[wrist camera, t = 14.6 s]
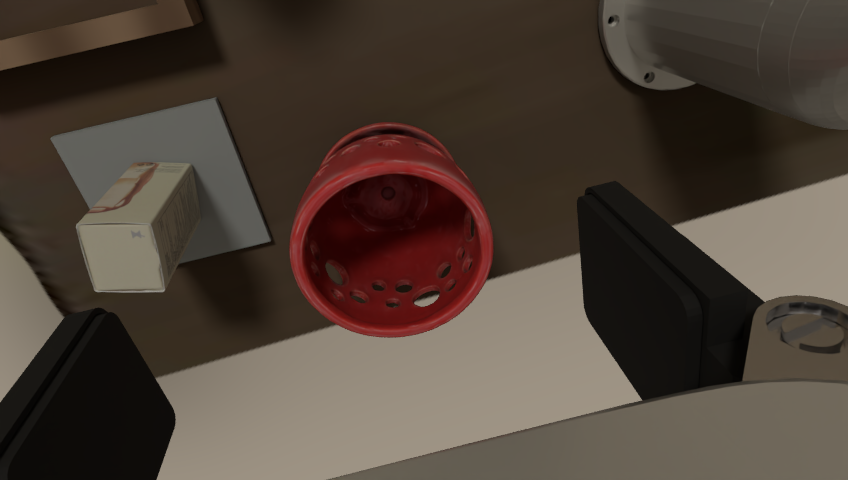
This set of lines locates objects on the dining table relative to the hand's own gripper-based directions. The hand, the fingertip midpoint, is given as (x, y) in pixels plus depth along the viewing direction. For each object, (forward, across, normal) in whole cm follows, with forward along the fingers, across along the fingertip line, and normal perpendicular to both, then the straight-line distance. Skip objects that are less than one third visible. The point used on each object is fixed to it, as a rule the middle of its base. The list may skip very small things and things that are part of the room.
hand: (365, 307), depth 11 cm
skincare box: (+32, +16, +7) cm, 36 cm away
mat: (+32, +16, +7) cm, 37 cm away
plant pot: (+32, 0, +11) cm, 34 cm away
